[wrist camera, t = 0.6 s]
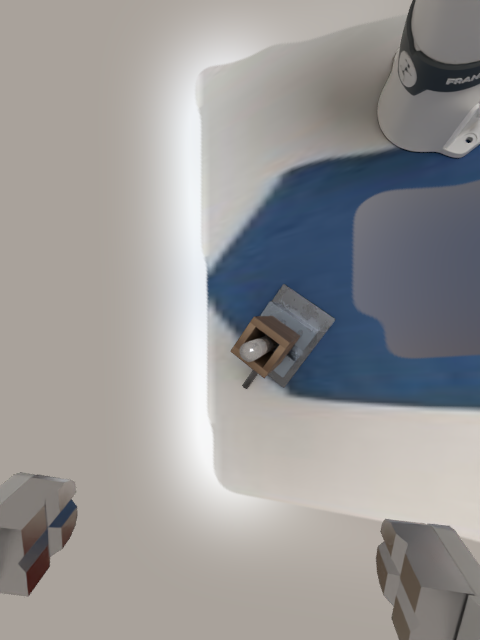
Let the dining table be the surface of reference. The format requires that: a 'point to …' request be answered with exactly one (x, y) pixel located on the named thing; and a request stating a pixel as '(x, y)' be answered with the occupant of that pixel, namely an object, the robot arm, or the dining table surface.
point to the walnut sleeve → (273, 330)
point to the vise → (300, 320)
